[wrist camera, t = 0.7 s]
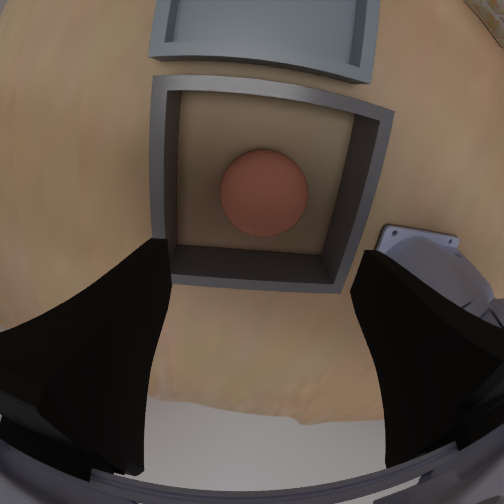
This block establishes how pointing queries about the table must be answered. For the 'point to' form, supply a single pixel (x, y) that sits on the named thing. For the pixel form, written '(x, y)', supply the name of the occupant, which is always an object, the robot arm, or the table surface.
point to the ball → (263, 193)
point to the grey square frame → (260, 262)
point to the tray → (271, 34)
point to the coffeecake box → (490, 16)
